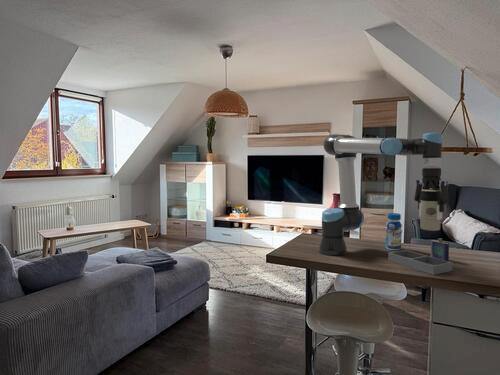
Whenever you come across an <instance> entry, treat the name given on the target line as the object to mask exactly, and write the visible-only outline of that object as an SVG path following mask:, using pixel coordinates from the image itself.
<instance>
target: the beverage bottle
mask: <svg viewBox="0 0 500 375" xmlns="http://www.w3.org/2000/svg"><path fill="white" fill-rule="evenodd" d="M401 216H402V215H401V214H400V213H397V212H396V213H395V212H388V213H387V220H388V221H387V222H386V225H385V248H386V249H387V250H390V251H402V233H403V229H402V227H403V224H402V222H401V220H402V218H401Z"/></svg>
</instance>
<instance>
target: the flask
mask: <svg viewBox="0 0 500 375" xmlns="http://www.w3.org/2000/svg"><path fill="white" fill-rule="evenodd" d="M449 255H450V243H449V242H447V241H444V240H443V238H437V240H434V239H433V240H431V241H430V256H431V257H434V258H438V259H442V260H445V261H449V260H450V256H449ZM449 262H450V261H449Z"/></svg>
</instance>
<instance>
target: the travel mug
mask: <svg viewBox="0 0 500 375" xmlns="http://www.w3.org/2000/svg"><path fill="white" fill-rule="evenodd" d="M437 191H441V189H440V190H437ZM421 192H422V193H423V194H422V196H421V214H420V217H419V219H420V221H419V222H420V224H419V225H420V226H419V229H421V230H424V231H431V232H436V231H440V230H441V219H440V220H437V205H438V204H439V203H438V201H437V197H436V195H435V194H436V190H433V189H432V188H430V189H427V190H423V189H422V191H421Z"/></svg>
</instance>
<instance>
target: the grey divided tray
mask: <svg viewBox="0 0 500 375" xmlns="http://www.w3.org/2000/svg"><path fill="white" fill-rule="evenodd" d="M387 256H388V257H387V258H388V259H387V260H388V261H389V262H392V263H395V264H399V265H401V266H405V267H408V268H411V269H414V270H417V271H419V272H423V273H426V274H429V275H433V276H434V275H440V274H444V273H449V272H453V262H452V261H445V260H442V259H438V258H434V257H431V255H430V256H429V255H426V254H423V253H419V252H415V251H411V250H408V249H403V250H402V249H401V250H395V251H391V252H388V253H387Z"/></svg>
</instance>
